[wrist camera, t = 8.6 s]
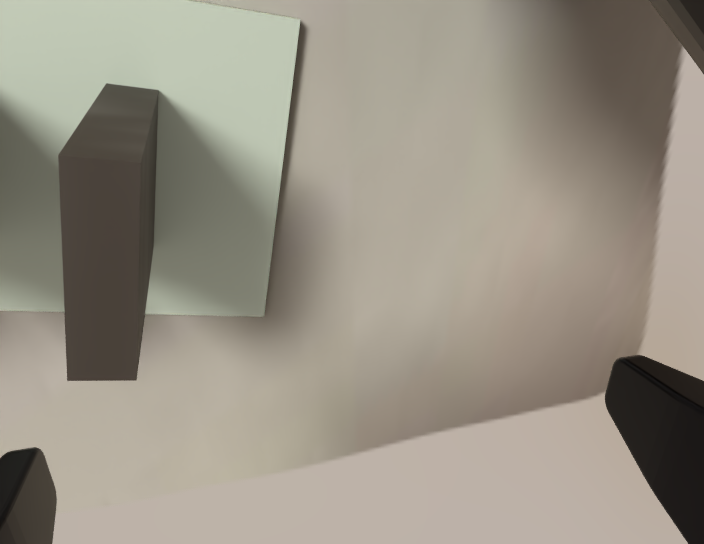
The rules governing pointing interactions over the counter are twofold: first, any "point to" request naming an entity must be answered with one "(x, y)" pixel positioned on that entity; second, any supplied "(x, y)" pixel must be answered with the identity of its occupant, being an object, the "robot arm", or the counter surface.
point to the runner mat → (172, 141)
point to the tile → (108, 232)
